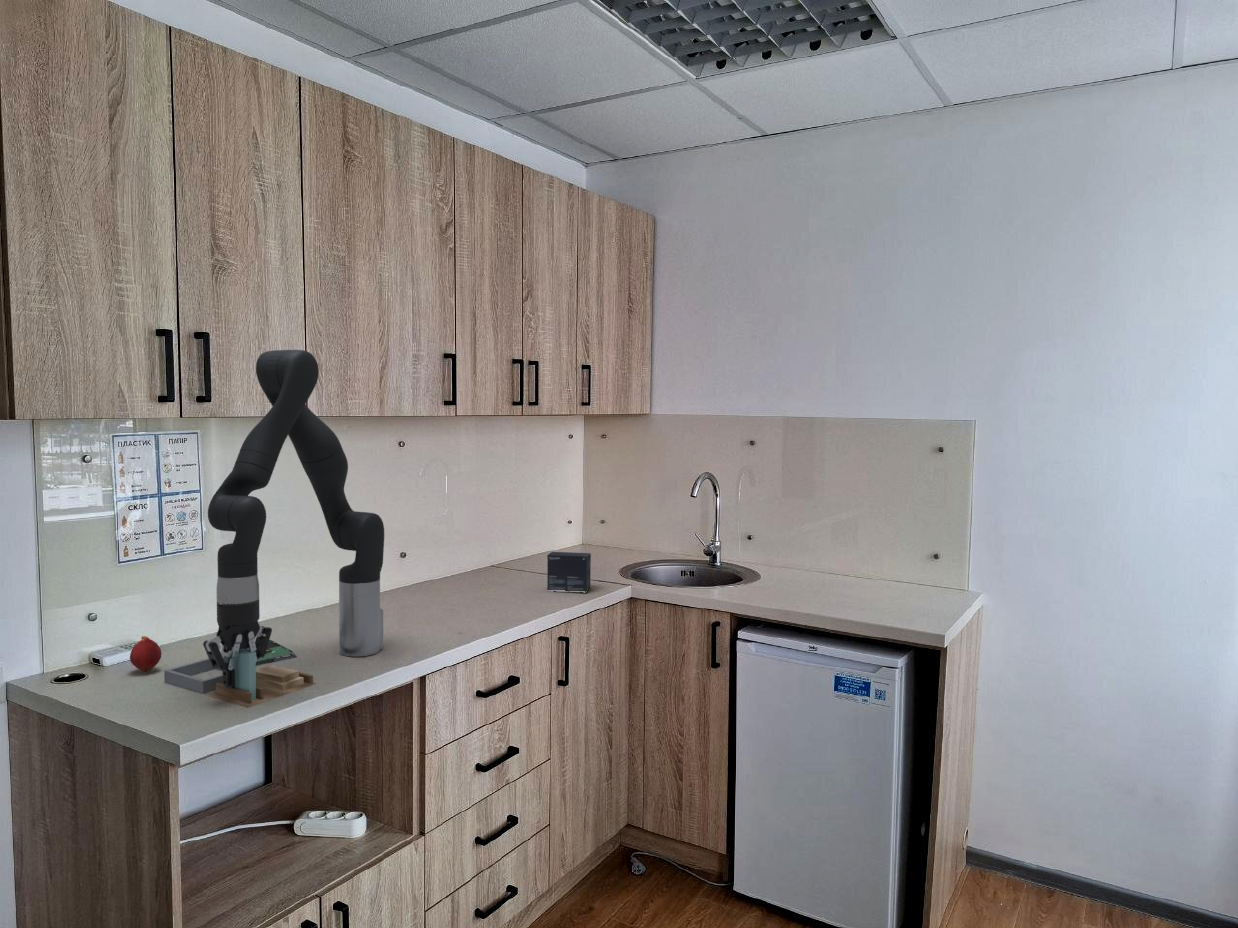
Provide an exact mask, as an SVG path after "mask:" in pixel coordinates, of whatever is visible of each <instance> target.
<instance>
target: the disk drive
mask: <svg viewBox="0 0 1238 928" xmlns="http://www.w3.org/2000/svg"><path fill="white" fill-rule="evenodd" d="M260 647H261V646H260ZM259 650H260V649H259ZM295 658H297V655H296V654H295V652H294V651H293V650H291V649H289V648H287V647H286V646H284V645H281V644H279V643H278V642H276V641H274V640H271V639H269V642H268V646H267V649H266V653H265V656H264V657H263V658H259V659H258V660H257V662H256V666H261V665H264V664H265V665H266V664H271V663H277V662H281V661H285V660H291V659H295Z"/></svg>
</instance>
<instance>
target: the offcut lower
mask: <svg viewBox="0 0 1238 928" xmlns="http://www.w3.org/2000/svg"><path fill="white" fill-rule="evenodd" d="M256 683H257V684H260V685H264V686H267V687H271V688H275V689H278V690H282V691H284V690H287V689H290V688H293V687H296V686H299V685H301V684H304V678H303V677H297V678H295V679H292V680H290V681H287V682H284V683H279V682H274V681H269V680H264V679H259V678H256Z"/></svg>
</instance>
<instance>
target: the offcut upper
mask: <svg viewBox="0 0 1238 928" xmlns="http://www.w3.org/2000/svg"><path fill="white" fill-rule="evenodd" d="M299 672H300V670H297V669H292V668H286V667H281V666H278V667H276V666H275V665H266V666H264V667H261V668H259V669H256V678H259V679H264V680H269V681H274V682H279V683H284V682H287V681H290V680H292V679H295V678H297V677H299Z"/></svg>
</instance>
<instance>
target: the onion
mask: <svg viewBox="0 0 1238 928" xmlns="http://www.w3.org/2000/svg"><path fill="white" fill-rule="evenodd" d="M129 654H130V656H129V659H130V660H129V661H130V663H131V664H132V666H134V667H135V668H136V669H138V670H140V671H141V672H143V673H148V672H149V671H151V670H153V669H154V668H155V667H156V666H157V665H158V663H159V662H160V661H161V658H162V648H161V647H160V646H159V644H158V643H157V642H155V641H154V640H152V639H150V638H149V637H148V636H147V635H142V636H141V640H139V641H137V642H136V643H135V644H134V645H133V647H132V648H131V650H130V653H129Z"/></svg>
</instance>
